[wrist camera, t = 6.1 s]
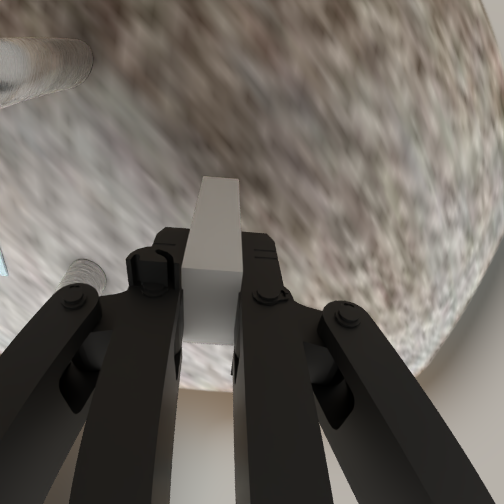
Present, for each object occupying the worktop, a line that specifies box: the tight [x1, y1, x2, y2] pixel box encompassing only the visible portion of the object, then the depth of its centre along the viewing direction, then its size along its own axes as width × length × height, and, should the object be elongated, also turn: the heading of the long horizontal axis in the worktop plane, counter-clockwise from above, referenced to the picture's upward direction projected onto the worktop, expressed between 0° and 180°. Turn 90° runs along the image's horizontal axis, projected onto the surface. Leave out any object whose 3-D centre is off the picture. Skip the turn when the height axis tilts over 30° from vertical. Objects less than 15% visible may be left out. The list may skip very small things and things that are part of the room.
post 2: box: [54, 259, 106, 296], centre depth 15 cm, size 3×3×8 cm
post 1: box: [0, 37, 93, 109], centre depth 8 cm, size 3×3×8 cm
